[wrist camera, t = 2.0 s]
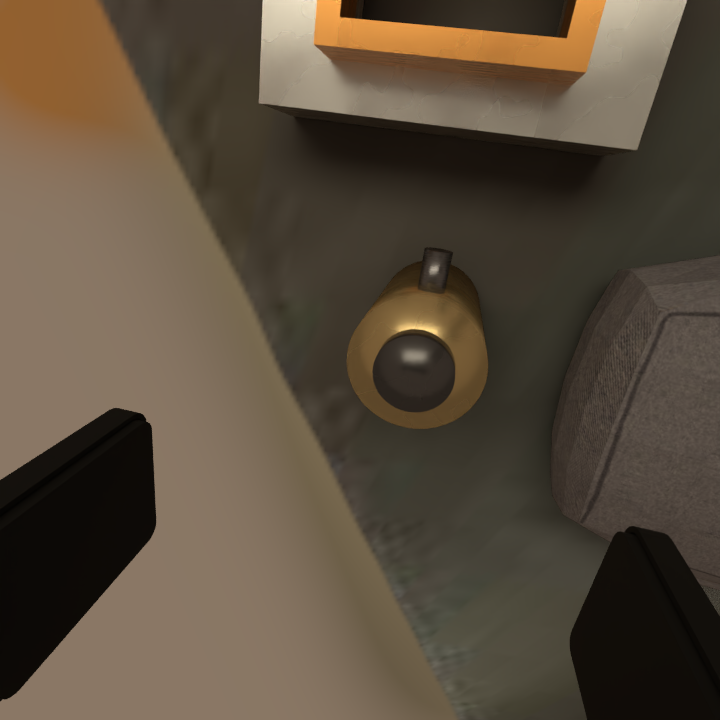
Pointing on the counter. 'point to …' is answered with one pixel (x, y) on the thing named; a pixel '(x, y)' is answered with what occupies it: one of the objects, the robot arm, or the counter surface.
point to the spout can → (421, 346)
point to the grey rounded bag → (647, 412)
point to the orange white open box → (473, 73)
